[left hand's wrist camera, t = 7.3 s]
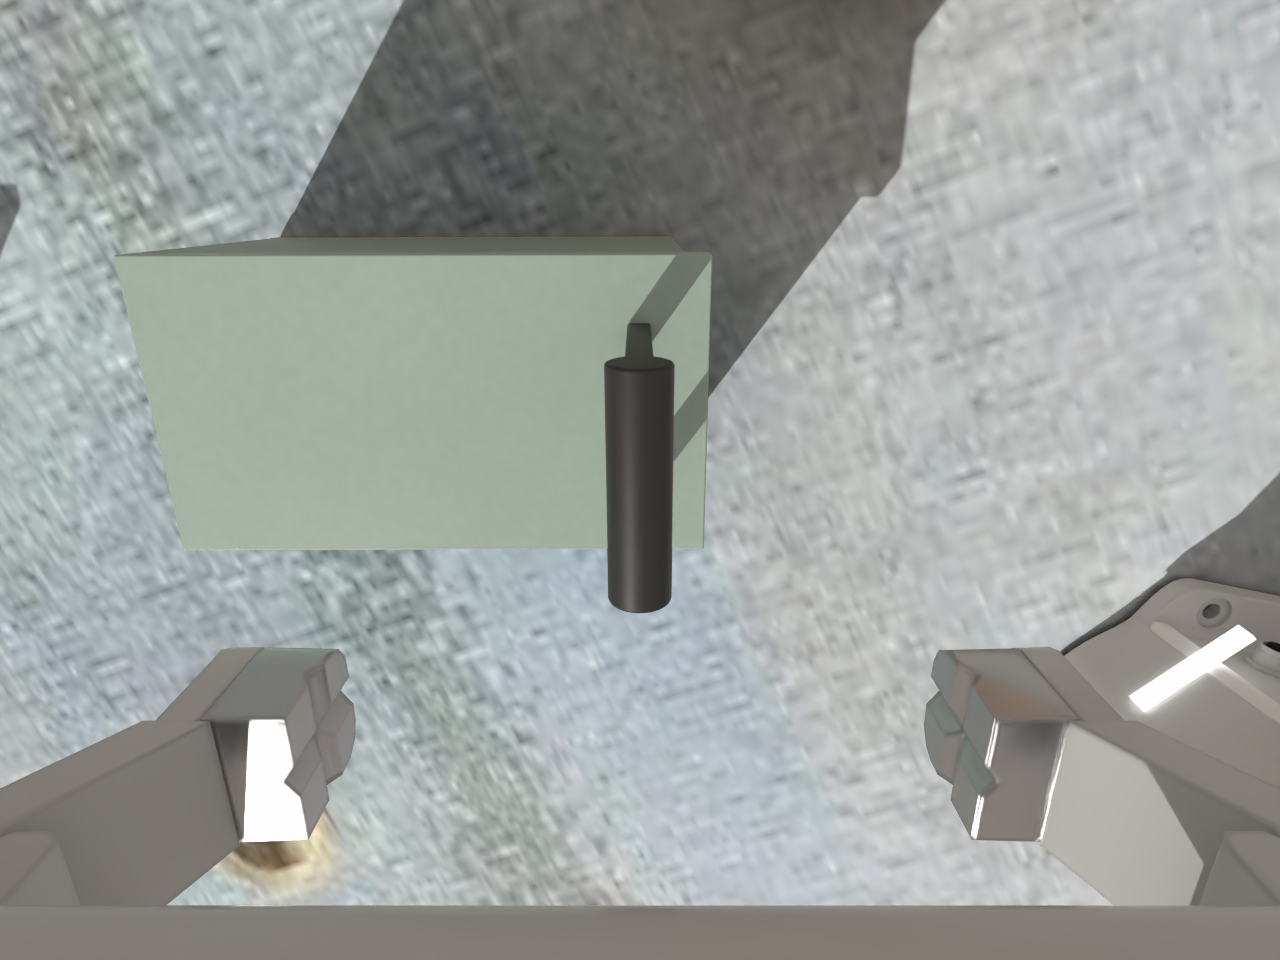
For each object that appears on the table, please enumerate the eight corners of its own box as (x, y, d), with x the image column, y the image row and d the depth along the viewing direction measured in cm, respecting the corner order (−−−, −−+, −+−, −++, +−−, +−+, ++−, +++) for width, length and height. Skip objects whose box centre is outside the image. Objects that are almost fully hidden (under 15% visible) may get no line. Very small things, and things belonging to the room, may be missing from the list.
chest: (672, 236, 32) (686, 251, 23) (670, 449, 36) (681, 535, 26) (278, 237, 32) (136, 252, 23) (313, 450, 36) (201, 537, 26)
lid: (709, 251, 23) (746, 278, 15) (701, 535, 26) (727, 679, 19) (135, 253, 23) (-127, 280, 15) (200, 537, 26) (13, 681, 18)
